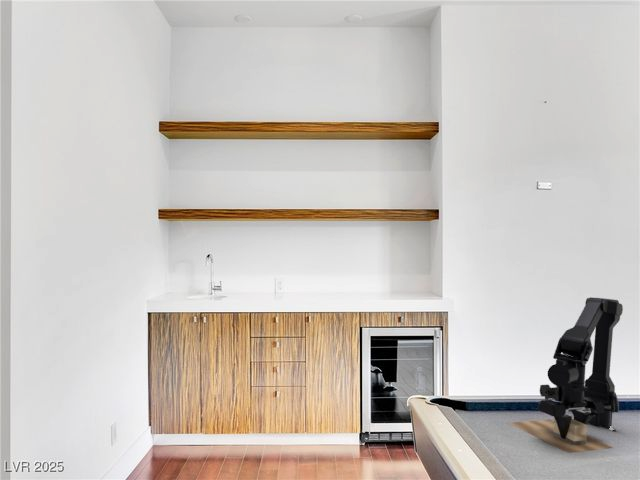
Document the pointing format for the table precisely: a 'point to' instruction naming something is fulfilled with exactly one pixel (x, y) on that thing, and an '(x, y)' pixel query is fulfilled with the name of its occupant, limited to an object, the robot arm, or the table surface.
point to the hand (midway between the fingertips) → (569, 437)
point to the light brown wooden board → (545, 433)
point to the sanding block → (573, 432)
